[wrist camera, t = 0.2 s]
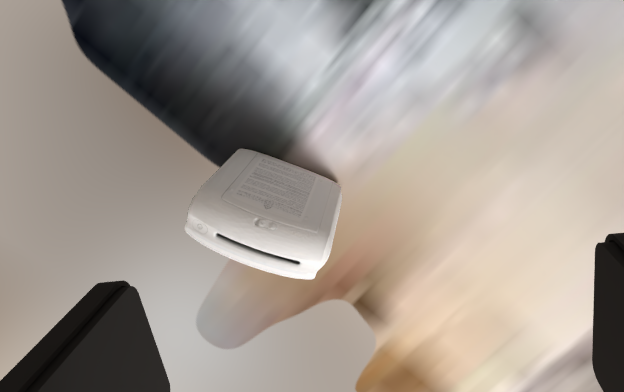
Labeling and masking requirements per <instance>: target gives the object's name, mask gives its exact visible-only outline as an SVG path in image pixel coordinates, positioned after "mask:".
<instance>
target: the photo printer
mask: <svg viewBox="0 0 624 392" xmlns="http://www.w3.org/2000/svg"><path fill="white" fill-rule="evenodd" d="M341 202H342V194H341V186H340V185H339V184H337V183H336V182H334V181H332V180H330V179H328V178H326V177H324V176H321V175H319V174H316V173H314V172H311V171H308V170H306V169H303V168H301V167H298V166H295V165H293V164H290V163H287V162H285V161H282V160H279V159H277V158H274V157H271V156H268V155H265V154H262V153H259V152H256V151H252V150H248V149H238V150H237V151H236V152H235V153H234V154H233V155H232V156H231V157H230V158H229V159H228V160H227V161H226V162H225V163H224V164H223V165H222V166H221V167H220V168H219V170H218V171H216V173H215V174H213V175H212V177H211V178H209V180H208V181H206V183H205V184H203V186H202V187H201V188H200V189H199V191H198V192H197V194H196V195H195V196H194V198H193V199H192V202H191V204H190V206H189V209H188V218H187V221H186V224H185V231H186V233H187V234H188V235H190V236H191V237H192V238H193V239H195V240H196V241H198V242H199V243H201V244H203V245H204V246H206V247H208V248H209V249H211V250H213V251H216V252H218V253H219V254H222V255H224V256H226V257H228V258H230V259H233V260H235V261H238V262H240V263H243V264H246V265H248V266H251V267H254V268H257V269H260V270H263V271H266V272H270V273H274V274H277V275H281V276H286V277H291V278H297V279H314V278H315V276H316V273H317V271H318V270H319V269H320V268H321V267H322V266H323V265H324V264H325V263H326V261H327V260H328V258H329V255H330V252H331V247H332V243H333V238H334V234H335V229H336V225H337V221H338V216H339V212H340V207H341Z"/></svg>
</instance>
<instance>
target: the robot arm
mask: <svg viewBox="0 0 624 392" xmlns="http://www.w3.org/2000/svg"><path fill="white" fill-rule="evenodd" d="M592 361H593V369H594V373H595V376H596V378H597V380H598V383H599V384H600V386H601V388H602V390H603V391H604V392H624V233H617V234H609V235H608V236H607V237H606V240H605V242H604V243H598V244H597V245H596V248H595V277H594V316H593V355H592ZM0 392H170V383H169V380H168V377H167V374H166V371H165V369H164V366H163V363H162V360H161V357H160V354H159V351H158V348H157V345H156V343H155V340H154V337H153V334H152V331H151V328H150V325H149V322H148V319H147V317H146V314H145V311H144V308H143V305H142V303H141V299H140V296H139V293H138V292H137V290H136V288H135V287H133V286H130V285H129V284H128V283H127V282H126V281H115V282H104V283H98V284H97V285H95V286H94V287H93V288H92V289H91V290H90V291H89V292H88V293H87V294H86V295H85V296H84V297H83V298H82V299H81V300H80V301H79V302H78V303H77V304H76V305H75V306H74V307H73V308H72V309H71V310H70V311H69V312H68V313H67V314H66V315H65V316H64V318H62V319H61V320H60V321H59V322H58V323H57V324H56V325H55V326H54V327H53V328H52V329H51V331H49V333H48V334H47V335H45V337H43V338H42V340H41V341H40V342H39V343H38V344H37V345H36V346H35V347H34V348H33V349H32V350H31V351H30V352H29V353H28V354H27V355H26V356H25V357H24V358H23V359H22V360H21V361H20V362H19V363H18V364H17V365H16V366H15V367H14V368H13V369H12V370H11V371H10V372H9V373H8V374H7V375H6V376H5V377H4V378H3V379H2V380H1V381H0Z"/></svg>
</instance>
